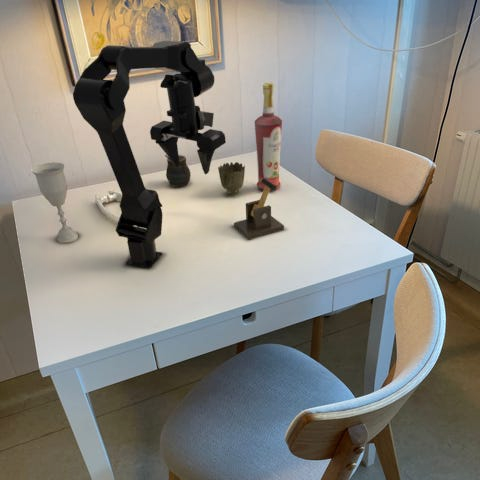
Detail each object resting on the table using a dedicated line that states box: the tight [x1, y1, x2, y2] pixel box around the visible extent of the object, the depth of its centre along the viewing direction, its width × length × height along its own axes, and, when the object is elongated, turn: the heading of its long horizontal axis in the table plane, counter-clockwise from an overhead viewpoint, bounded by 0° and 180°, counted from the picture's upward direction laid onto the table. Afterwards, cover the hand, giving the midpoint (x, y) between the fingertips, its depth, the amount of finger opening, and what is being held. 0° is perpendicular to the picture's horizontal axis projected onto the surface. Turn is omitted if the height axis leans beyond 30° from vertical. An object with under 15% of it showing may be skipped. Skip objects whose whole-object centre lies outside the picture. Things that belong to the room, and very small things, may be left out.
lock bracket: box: [233, 199, 285, 240], centre depth 121 cm, size 10×8×6 cm
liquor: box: [254, 82, 283, 192], centre depth 134 cm, size 7×7×28 cm
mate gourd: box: [164, 154, 192, 188], centre depth 145 cm, size 7×8×10 cm
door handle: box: [94, 189, 122, 224], centre depth 132 cm, size 3×10×25 cm
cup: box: [217, 161, 246, 197], centre depth 138 cm, size 8×7×8 cm
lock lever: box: [251, 178, 277, 216], centre depth 119 cm, size 9×5×2 cm
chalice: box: [31, 161, 79, 244], centre depth 118 cm, size 7×7×18 cm
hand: (191, 170), depth 120 cm, fingers open, 9 cm apart
